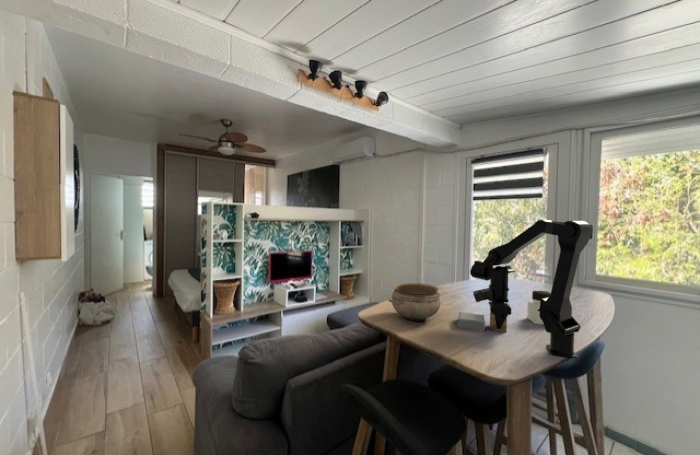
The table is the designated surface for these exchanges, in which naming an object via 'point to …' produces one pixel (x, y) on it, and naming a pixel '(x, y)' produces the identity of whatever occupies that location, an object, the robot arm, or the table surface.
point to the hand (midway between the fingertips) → (497, 325)
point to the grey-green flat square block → (471, 321)
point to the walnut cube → (493, 324)
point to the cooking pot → (415, 300)
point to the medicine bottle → (536, 306)
